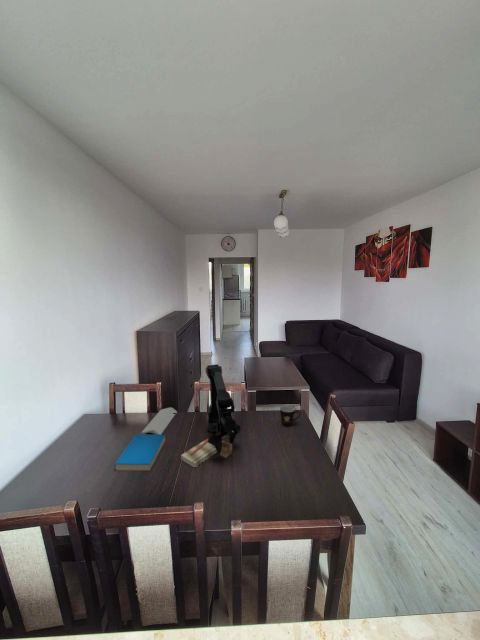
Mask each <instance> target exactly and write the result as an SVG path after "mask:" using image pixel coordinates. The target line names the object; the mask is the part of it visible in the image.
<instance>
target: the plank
mask: <svg viewBox="0 0 480 640" xmlns="http://www.w3.org/2000/svg"><path fill="white" fill-rule="evenodd" d="M206 440H208V438H206V439H205V440H203V441H202V442H200V443H198V444H197V445H195V446H193V447H191V448H190V449H189V450H187V451H185V452H184V453H182V454H181V455H180V460H181V461H182V462H184V463H186V464H188V465H189V466H191V467H192V468H194V467H196V468H198V465H199V464H200V465H202V464H203V463H204V462H206V461H207V460H208V459H210V458H211V457H213V456H214V455H215V454H218V452H217V450H216V448H215V446H214V445H212V444H210V443H206V444H205V445H204V446H203V447H202V448H200V449H199V450H198V451H197V452H196V453H194V454H193V455H190V453H192V452H193V451H194V450H195V449H197V448H198V447H199V446H200V445H202V444H203V443H204V442H205V441H206ZM224 441H225V440H223V439H222V442H224ZM205 460H206V461H205ZM202 462H203V463H202ZM200 465H199V466H200Z"/></svg>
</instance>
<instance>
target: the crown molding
mask: <svg viewBox="0 0 480 640" xmlns="http://www.w3.org/2000/svg"><path fill="white" fill-rule="evenodd" d="M173 413H176V414H177V413H178V411H177V410H176V409H175V408H173V407H166V408H163V409H160V410H159V411H158V412H157V414H156V415H155V416H154V417H153V418H152V419H151V420H150V422H149V423H148V424H147V425H146V427H144V429H143V430H142V431H141V432H140V433H139V434H147V433H151V434H155V435H163V434H162V433H164V431H165V430H166V428H167V427H168V425H169V424H170V422H171V421H172V420H173V418H174V417H175V416H176V414H173Z"/></svg>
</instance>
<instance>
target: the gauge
mask: <svg viewBox="0 0 480 640" xmlns="http://www.w3.org/2000/svg"><path fill="white" fill-rule="evenodd" d="M223 441H224V442H222V448H221V453H220V454H218V455H219V456H221V457H223V458H225V459H226V458H228V457H229V456H230V455H231V454H233V444H231V443H230V442H228V441H227V440H223Z"/></svg>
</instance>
